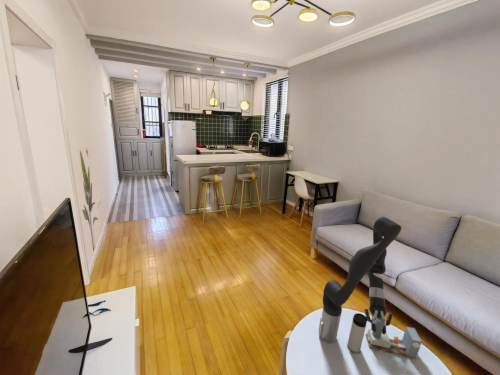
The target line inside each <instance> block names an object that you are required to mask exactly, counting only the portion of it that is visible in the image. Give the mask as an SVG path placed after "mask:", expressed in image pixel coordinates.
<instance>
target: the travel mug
mask: <svg viewBox="0 0 500 375" xmlns="http://www.w3.org/2000/svg"><path fill="white" fill-rule="evenodd" d="M367 322H368V318H367V317H366V315H364V314H363V313H360V312H359V313H354V314H353V317H352V321H351V326H350V330H349V336H348V339H347V340H348V341H347V346H346V347H347V349H348V350H349V351H350V352H351V353H353V354H359V353H360V352H361V349H362V345H363V340H364V336H365V331H366V328H367Z"/></svg>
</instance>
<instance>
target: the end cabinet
mask: <svg viewBox="0 0 500 375" xmlns="http://www.w3.org/2000/svg"><path fill="white" fill-rule="evenodd" d="M401 340H402V343H403V345H405V347H406V349H405V350H406V352H407V354H408V355H409V356H413V357H418V354H419V351H420V348H421V345H422V343H423V342H422V340H421V338H420V336H419V334H418V332H417V330H416V328H414V327H410V326H409V327H408V326H405V330H404V333H403V336H402V338H401Z"/></svg>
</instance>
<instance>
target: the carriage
mask: <svg viewBox="0 0 500 375" xmlns="http://www.w3.org/2000/svg"><path fill="white" fill-rule="evenodd" d="M385 322H386V320H385V321H384V319H382V318H381V317H376V320H375V331H376V332H373V330H372V329H371V328H368V330H367V334H368V335H369V339H370V342H371V344H373V345H378V346H382V347H387V348H390V346H391V342H390V340H389V339H390V337H389V335H388V333H387V331H386V333H385V334H382V330H383V327H384V323H385Z"/></svg>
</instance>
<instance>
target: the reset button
mask: <svg viewBox="0 0 500 375" xmlns="http://www.w3.org/2000/svg"><path fill="white" fill-rule="evenodd" d="M393 340H394V343H395V344H397V345H398V344H399V343H402V338H401V339H400V338H399V336H396V335H395V336H393Z"/></svg>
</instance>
